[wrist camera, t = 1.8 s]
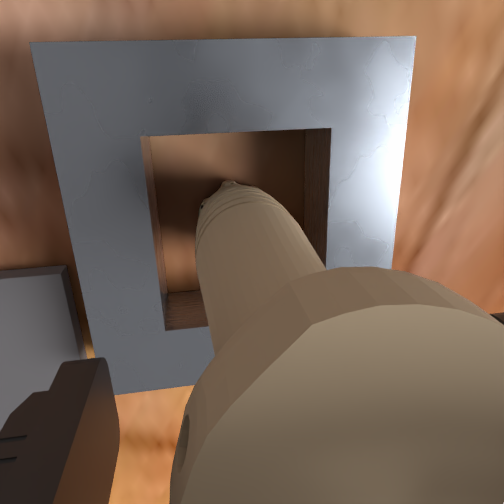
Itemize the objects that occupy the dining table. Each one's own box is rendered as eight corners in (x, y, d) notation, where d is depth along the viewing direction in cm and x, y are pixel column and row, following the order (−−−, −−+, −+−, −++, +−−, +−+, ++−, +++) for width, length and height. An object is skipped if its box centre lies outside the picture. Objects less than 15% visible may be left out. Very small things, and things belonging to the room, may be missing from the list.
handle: (167, 261, 20) (132, 650, 6) (200, 130, 18) (259, 266, 4) (260, 280, 21) (407, 643, 7) (301, 160, 19) (611, 343, 5)
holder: (60, 52, 16) (28, 42, 13) (373, 46, 18) (416, 35, 14) (115, 350, 21) (103, 396, 18) (353, 323, 23) (381, 360, 20)
